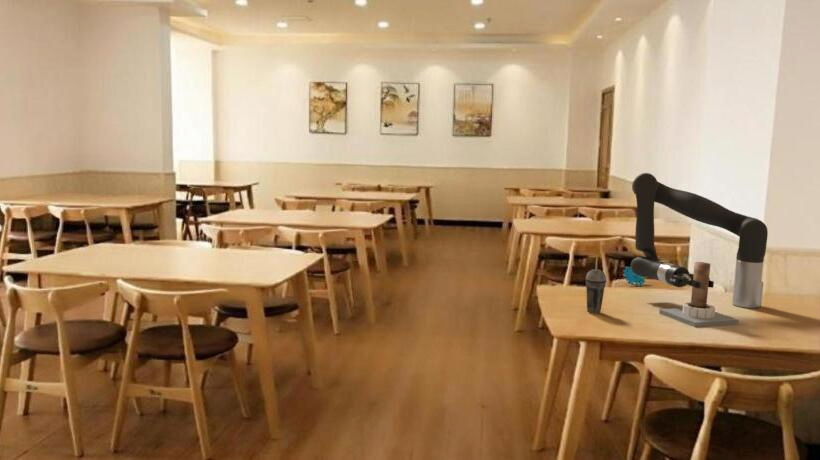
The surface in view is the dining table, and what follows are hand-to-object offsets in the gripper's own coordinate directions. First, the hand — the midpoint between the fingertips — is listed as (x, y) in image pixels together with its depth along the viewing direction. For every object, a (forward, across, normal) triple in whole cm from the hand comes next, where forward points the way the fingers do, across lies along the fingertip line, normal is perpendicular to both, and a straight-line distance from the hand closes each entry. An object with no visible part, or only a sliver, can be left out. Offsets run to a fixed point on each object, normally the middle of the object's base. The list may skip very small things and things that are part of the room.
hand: (706, 284), depth 231 cm
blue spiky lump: (-57, +13, +13) cm, 60 cm away
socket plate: (-2, 0, +12) cm, 13 cm away
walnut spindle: (-3, 0, +9) cm, 9 cm away
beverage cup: (-17, -32, +13) cm, 39 cm away
